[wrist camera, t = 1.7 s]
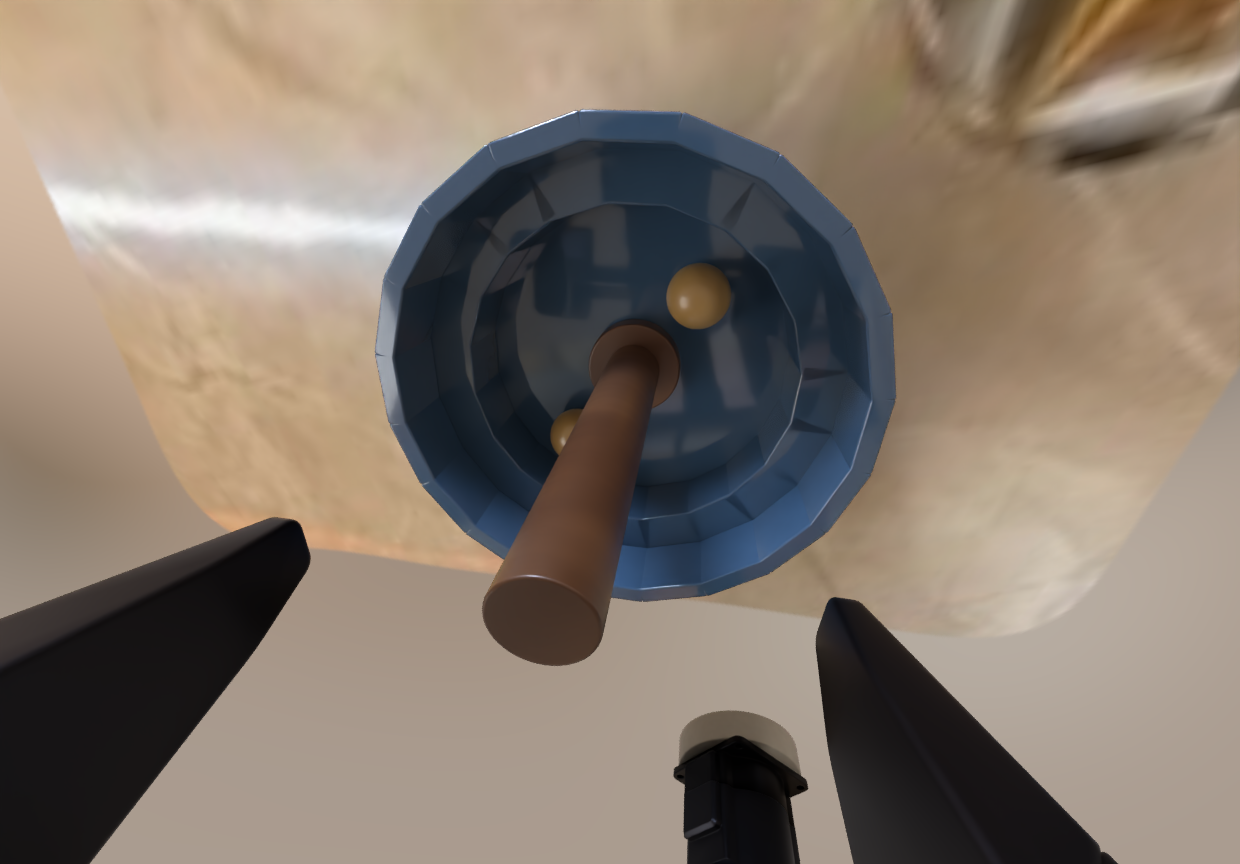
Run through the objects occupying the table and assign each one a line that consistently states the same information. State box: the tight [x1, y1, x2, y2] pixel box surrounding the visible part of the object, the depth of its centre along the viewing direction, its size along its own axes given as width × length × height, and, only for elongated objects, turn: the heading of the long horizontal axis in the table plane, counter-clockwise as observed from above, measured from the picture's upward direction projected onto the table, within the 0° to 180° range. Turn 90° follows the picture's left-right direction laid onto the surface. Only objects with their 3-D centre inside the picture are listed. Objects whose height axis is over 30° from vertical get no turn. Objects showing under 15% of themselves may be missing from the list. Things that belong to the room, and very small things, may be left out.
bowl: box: [375, 109, 896, 602], centre depth 16 cm, size 14×14×5 cm
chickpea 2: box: [666, 263, 731, 329], centre depth 15 cm, size 2×2×2 cm
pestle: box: [482, 319, 680, 666], centre depth 12 cm, size 3×3×12 cm
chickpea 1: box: [550, 409, 583, 455], centre depth 18 cm, size 2×2×2 cm
